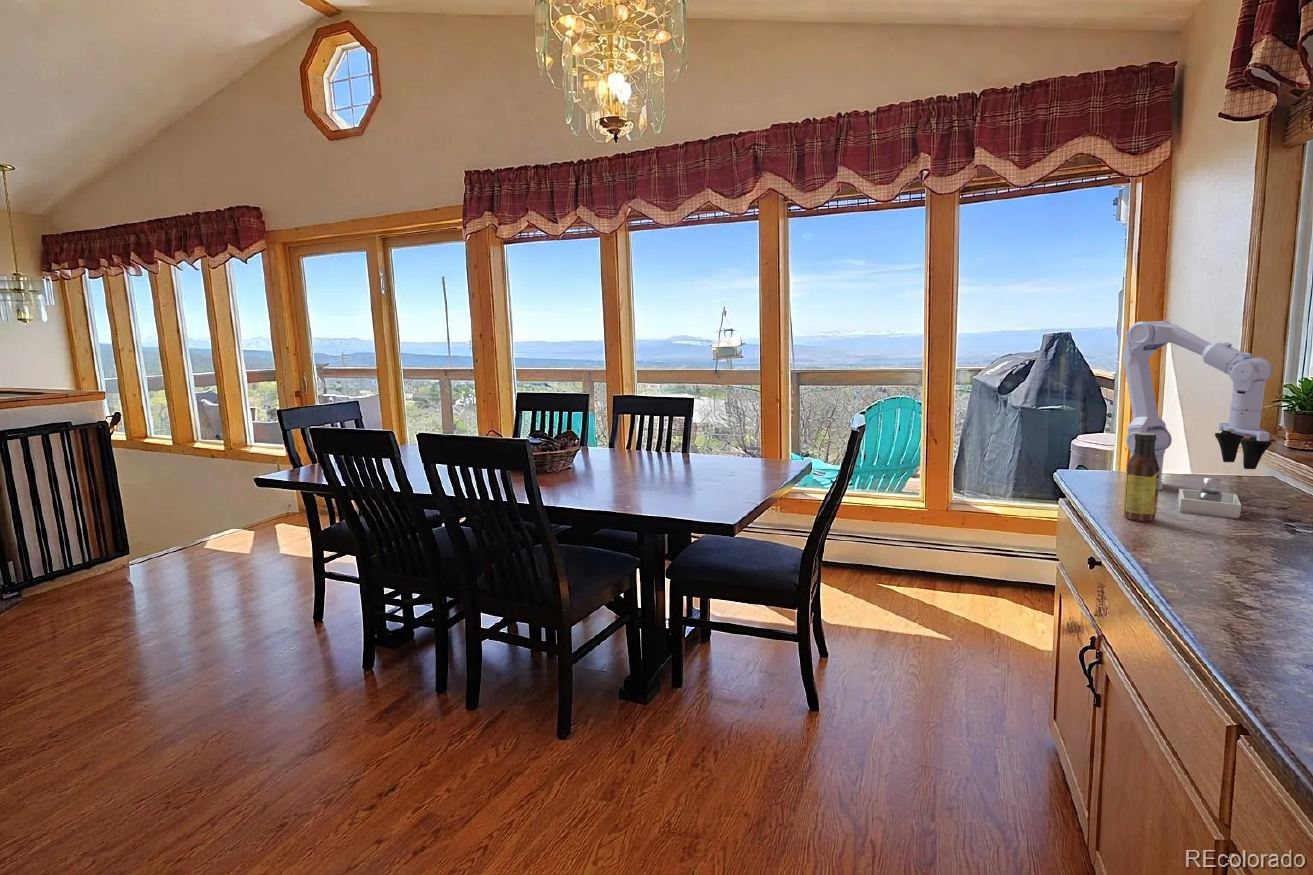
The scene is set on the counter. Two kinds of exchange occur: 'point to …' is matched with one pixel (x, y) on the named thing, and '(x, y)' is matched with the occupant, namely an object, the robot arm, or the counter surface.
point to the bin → (1209, 504)
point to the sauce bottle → (1142, 480)
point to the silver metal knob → (1211, 490)
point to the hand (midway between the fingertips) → (1238, 465)
